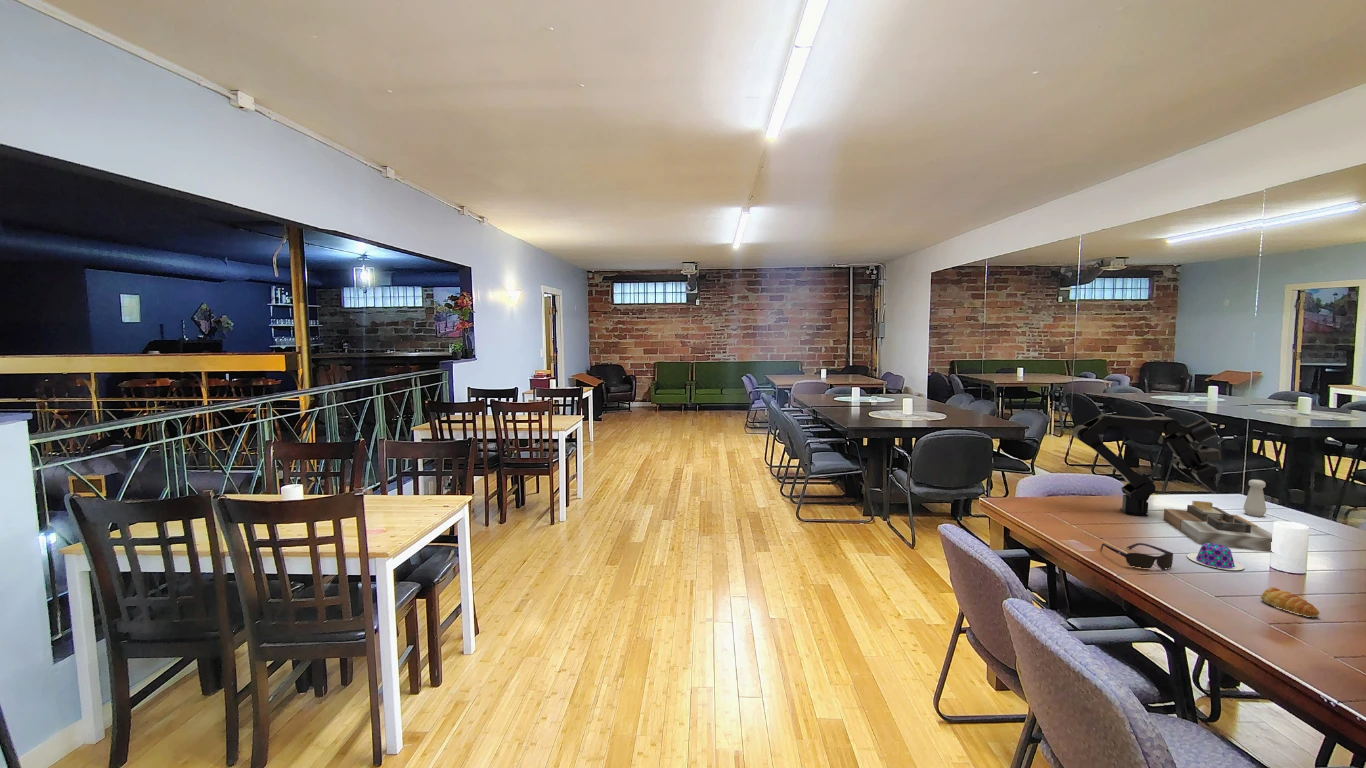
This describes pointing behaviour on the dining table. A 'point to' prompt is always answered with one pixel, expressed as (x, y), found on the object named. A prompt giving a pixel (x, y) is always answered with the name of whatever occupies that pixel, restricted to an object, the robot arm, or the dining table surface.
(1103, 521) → the dining table surface
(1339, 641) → the dining table surface
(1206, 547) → the purple patterned hat
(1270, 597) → the pastry
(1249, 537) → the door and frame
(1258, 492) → the salt shaker
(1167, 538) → the dining table surface
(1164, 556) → the sunglasses
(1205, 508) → the bolt
